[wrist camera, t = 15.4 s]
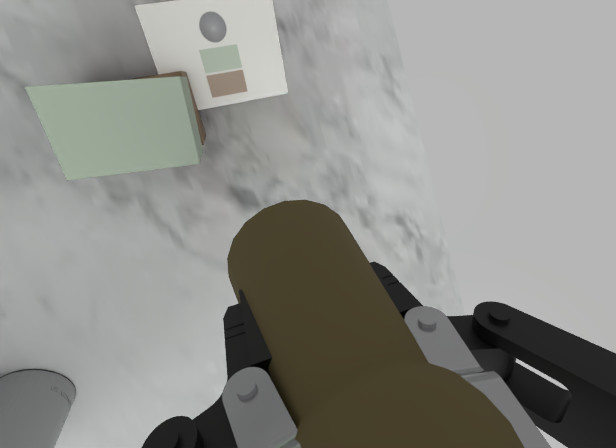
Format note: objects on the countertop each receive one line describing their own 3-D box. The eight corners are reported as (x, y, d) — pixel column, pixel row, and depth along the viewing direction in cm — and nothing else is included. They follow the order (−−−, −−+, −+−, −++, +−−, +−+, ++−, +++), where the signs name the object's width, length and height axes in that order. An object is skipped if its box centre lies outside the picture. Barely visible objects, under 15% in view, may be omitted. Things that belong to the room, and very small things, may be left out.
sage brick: (93, 162, 25) (67, 180, 21) (62, 85, 22) (24, 86, 18) (203, 150, 27) (199, 163, 23) (186, 76, 24) (179, 76, 20)
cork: (264, 177, 12) (486, 539, 2) (373, 227, 15) (680, 493, 5) (205, 295, 13) (202, 810, 4) (314, 321, 16) (469, 663, 7)
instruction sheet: (173, 114, 30) (172, 115, 30) (134, 5, 26) (134, 5, 25) (287, 93, 32) (288, 93, 32) (270, -11, 28) (270, -12, 28)
